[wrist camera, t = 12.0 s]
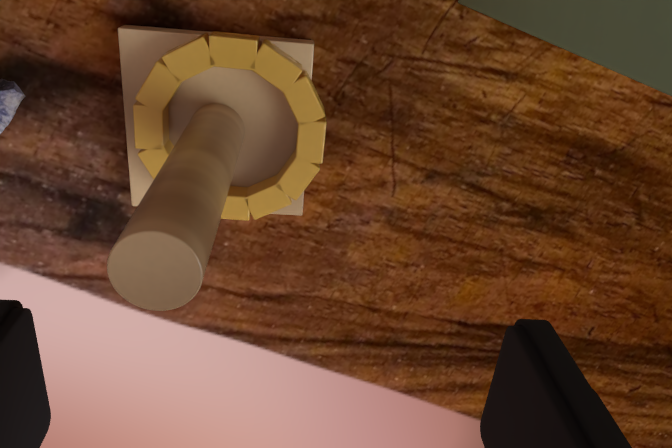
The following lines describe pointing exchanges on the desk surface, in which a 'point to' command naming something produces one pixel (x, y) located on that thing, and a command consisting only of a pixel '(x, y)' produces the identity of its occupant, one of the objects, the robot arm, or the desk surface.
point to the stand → (598, 32)
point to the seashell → (8, 101)
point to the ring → (272, 68)
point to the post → (195, 164)
